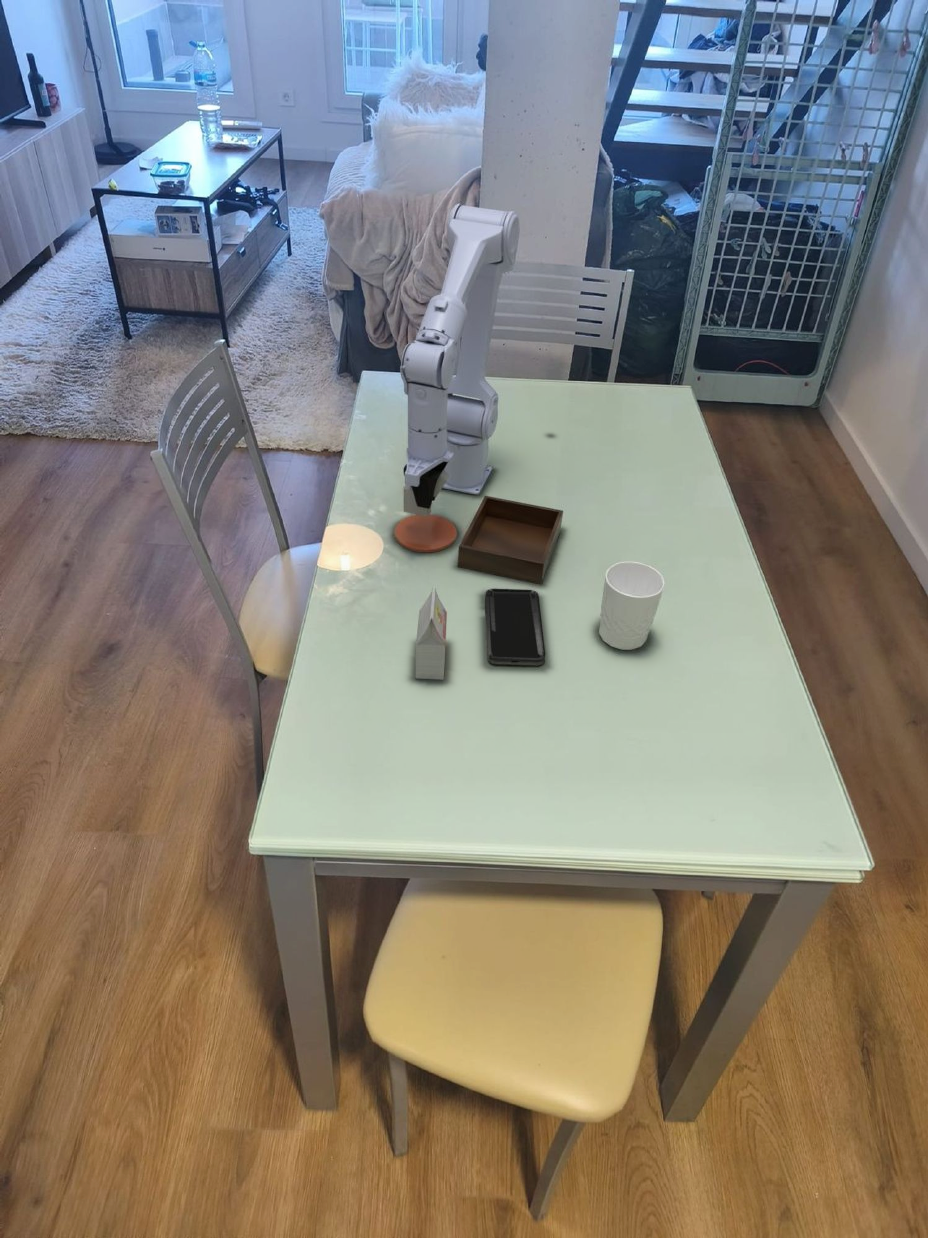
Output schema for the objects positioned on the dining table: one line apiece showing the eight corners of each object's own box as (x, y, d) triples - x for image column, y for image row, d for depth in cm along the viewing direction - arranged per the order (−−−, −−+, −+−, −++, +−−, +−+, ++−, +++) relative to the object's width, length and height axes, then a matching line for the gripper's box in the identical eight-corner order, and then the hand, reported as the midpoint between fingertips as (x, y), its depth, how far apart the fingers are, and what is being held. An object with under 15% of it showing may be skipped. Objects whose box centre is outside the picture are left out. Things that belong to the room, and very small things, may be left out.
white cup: (615, 659, 112) (628, 603, 106) (583, 625, 117) (594, 569, 111) (661, 643, 115) (676, 587, 108) (628, 610, 120) (641, 555, 114)
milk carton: (415, 678, 108) (416, 620, 101) (418, 643, 113) (419, 586, 106) (443, 679, 108) (445, 622, 101) (445, 645, 113) (447, 588, 106)
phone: (537, 590, 121) (546, 660, 110) (537, 595, 122) (545, 666, 110) (484, 588, 121) (487, 658, 109) (484, 594, 121) (486, 664, 110)
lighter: (403, 511, 130) (403, 467, 125) (406, 506, 131) (406, 462, 126) (445, 520, 129) (447, 476, 124) (449, 514, 130) (451, 470, 125)
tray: (483, 515, 138) (484, 495, 135) (560, 530, 135) (563, 510, 133) (457, 566, 127) (458, 546, 124) (541, 584, 124) (543, 563, 122)
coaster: (406, 512, 137) (406, 509, 137) (463, 523, 135) (464, 520, 135) (385, 545, 130) (385, 542, 130) (445, 557, 128) (446, 554, 128)
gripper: (438, 451, 114) (436, 532, 123) (467, 407, 125) (463, 484, 133) (390, 442, 115) (391, 523, 124) (423, 399, 126) (422, 476, 135)
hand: (426, 502), depth 129 cm, fingers closed on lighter, 2 cm apart
